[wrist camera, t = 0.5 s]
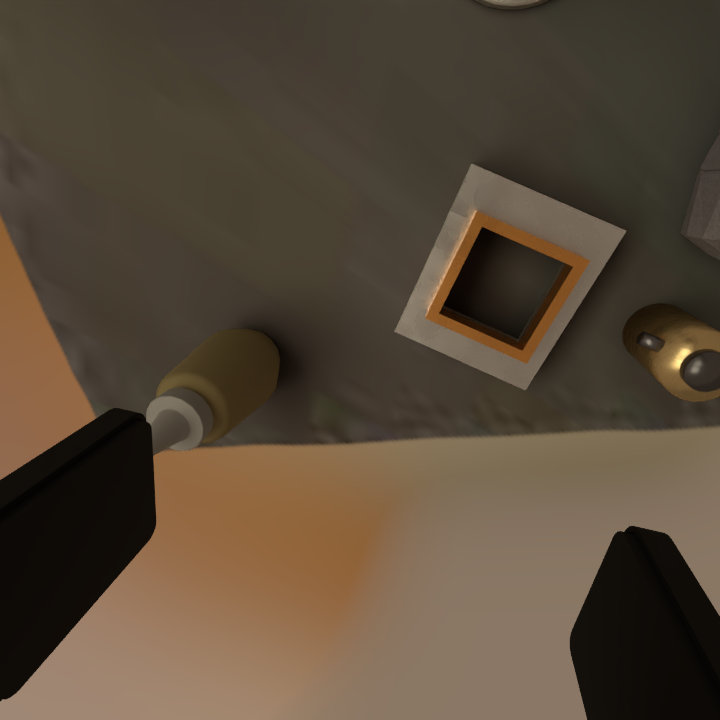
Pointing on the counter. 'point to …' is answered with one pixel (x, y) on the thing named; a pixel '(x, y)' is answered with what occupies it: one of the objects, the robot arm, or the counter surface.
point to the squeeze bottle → (213, 389)
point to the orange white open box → (528, 227)
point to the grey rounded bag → (705, 205)
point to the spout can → (676, 350)
